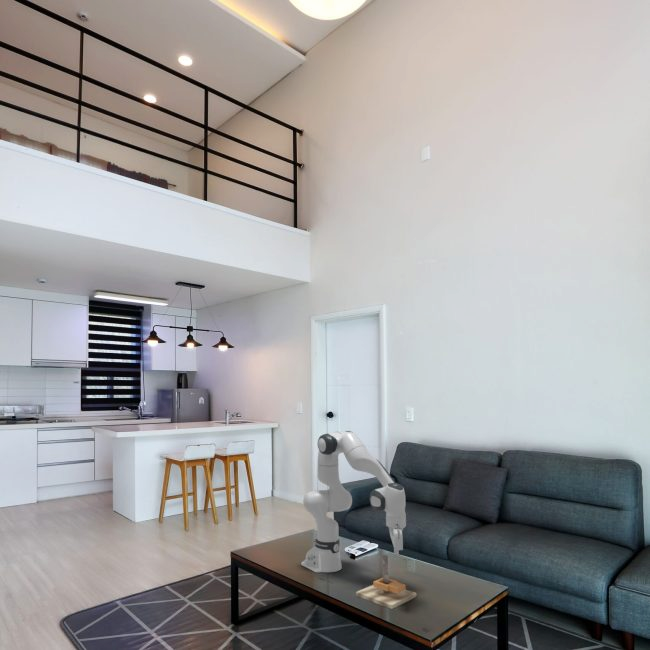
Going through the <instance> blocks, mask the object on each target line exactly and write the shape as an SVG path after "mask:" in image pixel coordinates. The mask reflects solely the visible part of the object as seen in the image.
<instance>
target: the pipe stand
mask: <svg viewBox="0 0 650 650" xmlns="http://www.w3.org/2000/svg"><path fill="white" fill-rule="evenodd" d="M389 576H390V575H389V556H388V555H386V554H384V555H383V554H382V578H383V583H384V584H389V579H390V578H389ZM355 596H356V597H359V598H360V599H364V600H366V601H369V602H371V603H375V604H378V605H380V606H382V607H385V608H388V609H390V610H393V609H396V608H397V607H399V606H402V605H403V604H405V603H406V602H409V601H411V600H413V599H414V598H417V592H415V591H413V590H409V589H406V590H404V591H402V592H400V593H398V594H397V593H394V592H391V591H385V590H382V589H379V588H377V587H374V586H373V584H372V585H371V584H370V585H369V586H367V587H365V588H363V589H362V588H361V589H360V590H358V591H356V592H355Z"/></svg>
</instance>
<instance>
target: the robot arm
mask: <svg viewBox="0 0 650 650" xmlns="http://www.w3.org/2000/svg"><path fill="white" fill-rule="evenodd" d="M317 448H318V453H317V454H318V456H317V479H318V481H320V483H321V484H324V485H326V486H328V489H324V490H323V489H320V490H319V489H317V490H316V489H315V490H311V491H307V492H306V493H305V495H304V496H303V500H302V501H303V507H304V509H305V510H306V511H307V512H308V513H309V514H310V515H311V516H312V517H313V518H314V520H315V523H316V531H317V532H316V533H317V538H316V539H314V540H313V543H314V544H315V545H314V546H313V547H311V548H310V549H309V550H308V551H307V552H306V555H305V559H304V560H302V561H301V564H300V565H301V566H302V567H304V568H306V569H308V570H310V571H312V572H314V573H335V572H338V571H340V570H341V569H343V566H342V561H341V553H340V552H341V551H340V538H339V536H340V535H339V530H340V529H339V523H338V522H337V521H336V520H335V519H333V518H332V517H329V516H328V515H327V513H333V512H334V513H336V512H338V513H340V512H343V511H344V512H345V511H347V510H349V509H350V508H351V507H352V505H353V498H352V494H351V493H350V491H348V490H347V489H346V488H345V487H344V486H343V485H342V483H341V480H340V474H339V455H340V454H342V453H343V455H344V457H345V458H346V462H348V465H349V466H350V467H351V468H352V469H353V470H355V471H358V472H363V473H367V474H371V475H373V476H374V477H375V478H376V479H377V480H378V482H379V483H380V484H381V486H382V487H379V488H375V489H373V490H372V491H371V492H370V494H369V503H370V507H372V509H373V510H375V511H377V512H378V511H384V512H385V526H386V527H388V530H389V536H390V539H391V542H392V546H393V553H394V555H395V556H399V553H400V552H399V551H403V550H404V539H403V538H404V537H403V531H404V529H405V527H406V526H407V516H406V515H407V513H406V504H407V503H406V497H407V496H406V493H405V488H404V486H403V485H401V484H399V483H397V482H396V481H395V479H394V478H393V477H392V476H391V474H390V473H389V472H388V470H387V469H386V468H385V466H383V464H382V463H381V462H380V461H379V460H378V459H377V458H375V457H374V456H373V455H372V454H371V453H370V452H369V451H368V449H367V448H366V445H365V444H364V442H363V441H362V439H361V438H360V437H359V436H358V434H356V433H355V432H353V431H350V430H345V431H335V432H334V431H333V432H329V433H324V434H322V435H320V436H319V437H318V439H317Z"/></svg>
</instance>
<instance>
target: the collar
mask: <svg viewBox="0 0 650 650" xmlns="http://www.w3.org/2000/svg"><path fill="white" fill-rule="evenodd" d="M372 583H373V584H372V585H373V586H374V587H377V588H379V589H382V590H385V591H391V592H394V593H397V594H398V593H400V592H402V591H404V590H407V589H406V584H404V583H401V582H399V581H398V580H395V579H391V578H389V584H384V583H383V577H380V578H378V579H376V580H374V581H373V582H372Z"/></svg>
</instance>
